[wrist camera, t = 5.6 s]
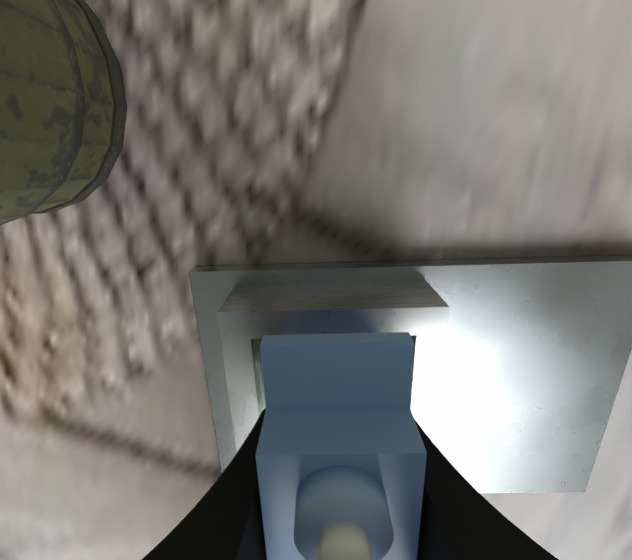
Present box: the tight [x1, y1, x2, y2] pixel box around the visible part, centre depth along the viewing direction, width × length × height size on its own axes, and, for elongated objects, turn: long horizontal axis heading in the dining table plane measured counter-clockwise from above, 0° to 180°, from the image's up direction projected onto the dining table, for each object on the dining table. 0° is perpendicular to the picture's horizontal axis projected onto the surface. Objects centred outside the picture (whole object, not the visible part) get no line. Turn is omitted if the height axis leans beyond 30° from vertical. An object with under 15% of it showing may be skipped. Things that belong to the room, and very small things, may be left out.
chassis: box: [189, 255, 632, 493], centre depth 14 cm, size 12×18×3 cm, turn 92°
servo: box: [255, 332, 427, 560], centre depth 10 cm, size 9×4×7 cm, turn 2°
